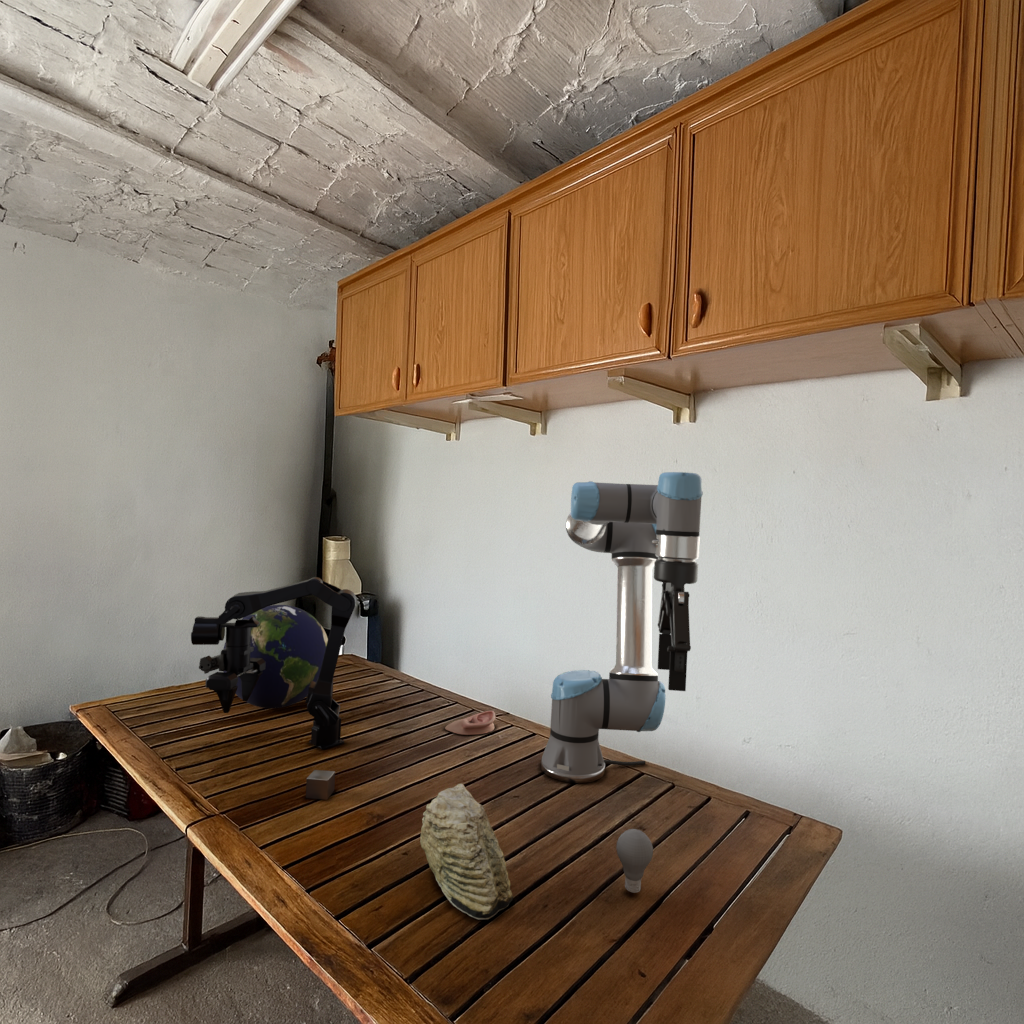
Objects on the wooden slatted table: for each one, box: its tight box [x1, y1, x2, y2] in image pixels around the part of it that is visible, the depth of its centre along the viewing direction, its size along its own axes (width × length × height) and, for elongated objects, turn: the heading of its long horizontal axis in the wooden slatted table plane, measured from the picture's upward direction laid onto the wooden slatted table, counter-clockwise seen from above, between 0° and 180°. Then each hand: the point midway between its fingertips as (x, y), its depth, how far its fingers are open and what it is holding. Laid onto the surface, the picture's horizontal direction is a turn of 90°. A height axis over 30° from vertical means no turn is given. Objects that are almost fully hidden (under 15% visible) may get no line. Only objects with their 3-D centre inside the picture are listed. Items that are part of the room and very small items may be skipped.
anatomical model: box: [444, 710, 496, 736], centre depth 177 cm, size 13×4×12 cm
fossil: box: [419, 783, 514, 921], centre depth 104 cm, size 9×18×15 cm, turn 45°
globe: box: [222, 604, 328, 709], centre depth 188 cm, size 30×30×30 cm
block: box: [305, 769, 336, 801], centre depth 135 cm, size 4×5×4 cm
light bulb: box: [615, 828, 654, 894], centre depth 106 cm, size 6×6×10 cm
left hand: (235, 706), depth 158 cm, fingers open, 9 cm apart
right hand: (670, 679), depth 112 cm, fingers open, 13 cm apart
